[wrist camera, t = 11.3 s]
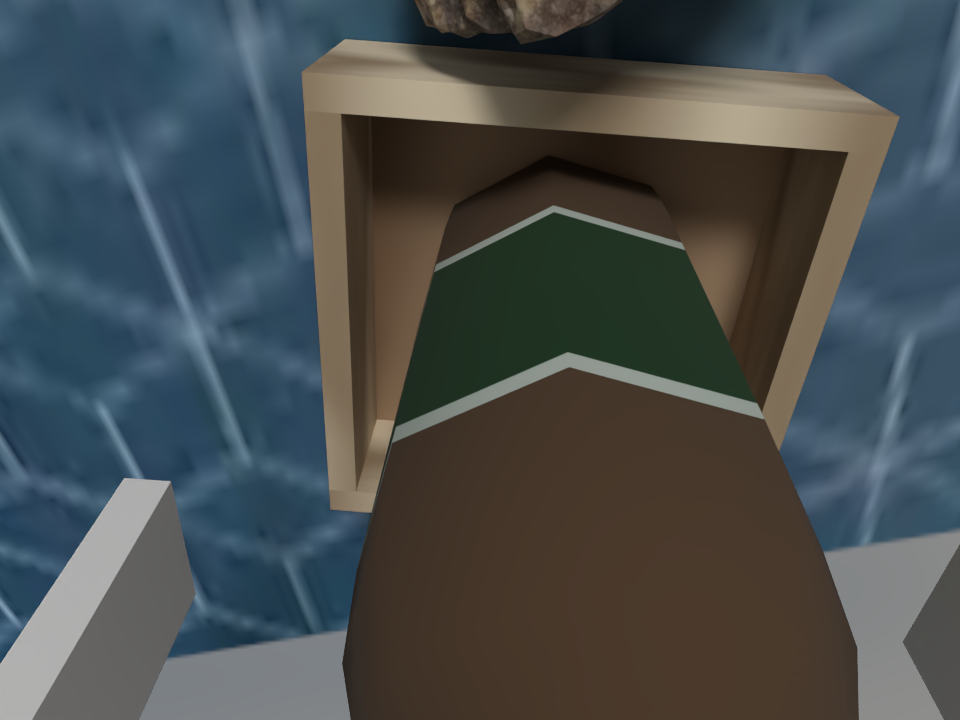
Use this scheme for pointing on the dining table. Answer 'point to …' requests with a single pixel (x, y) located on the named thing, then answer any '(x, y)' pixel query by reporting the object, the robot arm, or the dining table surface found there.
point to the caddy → (589, 142)
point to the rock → (512, 16)
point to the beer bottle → (585, 489)
